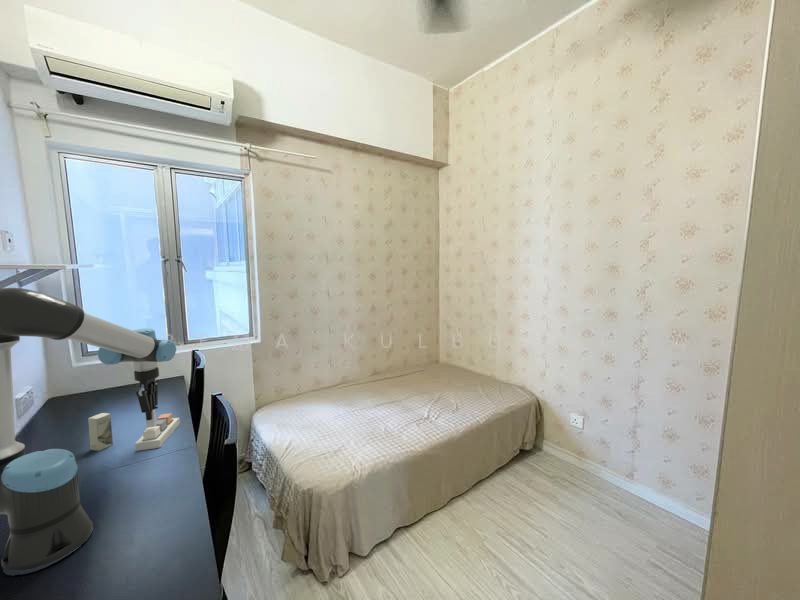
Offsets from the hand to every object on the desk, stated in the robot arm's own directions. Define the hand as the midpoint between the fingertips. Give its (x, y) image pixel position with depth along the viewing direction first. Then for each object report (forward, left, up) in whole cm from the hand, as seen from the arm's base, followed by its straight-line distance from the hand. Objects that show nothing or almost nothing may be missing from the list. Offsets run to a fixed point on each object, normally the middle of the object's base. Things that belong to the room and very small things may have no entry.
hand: (151, 426), depth 126 cm
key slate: (+6, 0, -4) cm, 7 cm away
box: (+3, +18, -7) cm, 20 cm away
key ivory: (0, 0, -4) cm, 4 cm away
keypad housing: (+6, 0, -7) cm, 9 cm away
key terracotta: (+12, 0, -4) cm, 13 cm away
